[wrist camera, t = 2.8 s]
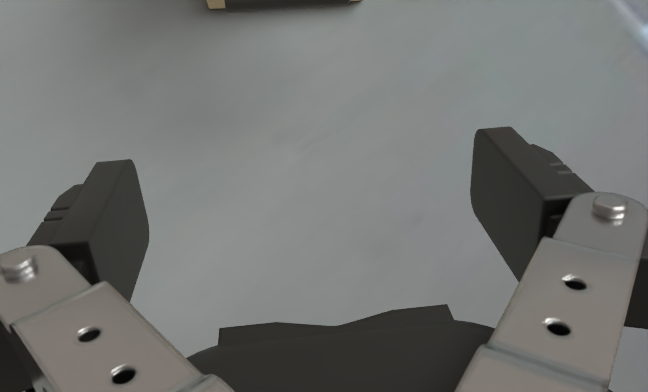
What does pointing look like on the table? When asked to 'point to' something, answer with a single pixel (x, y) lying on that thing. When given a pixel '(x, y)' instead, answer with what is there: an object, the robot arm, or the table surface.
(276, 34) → the table surface
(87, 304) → the robot arm
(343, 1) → the lever
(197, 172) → the table surface
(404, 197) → the table surface
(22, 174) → the table surface
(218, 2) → the bracket
